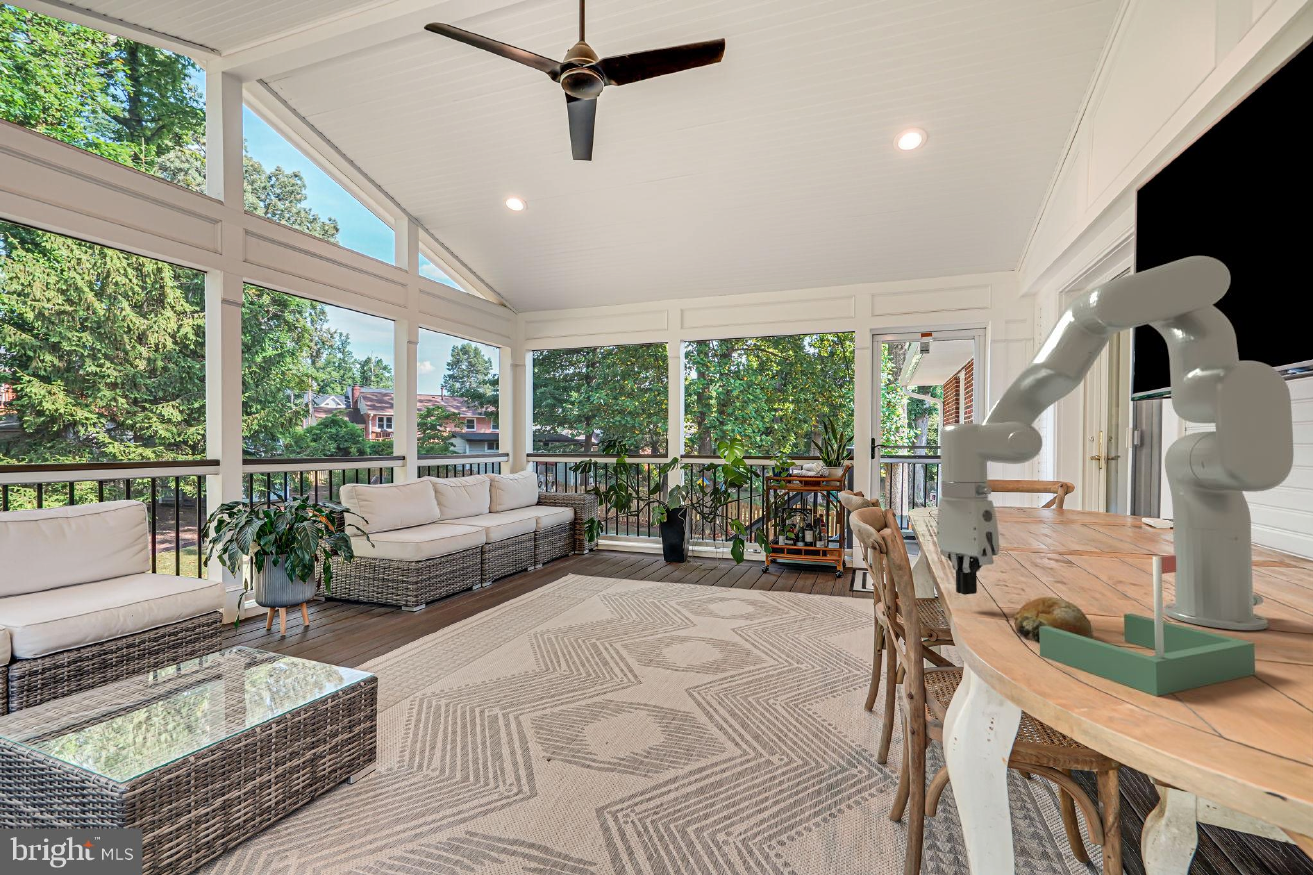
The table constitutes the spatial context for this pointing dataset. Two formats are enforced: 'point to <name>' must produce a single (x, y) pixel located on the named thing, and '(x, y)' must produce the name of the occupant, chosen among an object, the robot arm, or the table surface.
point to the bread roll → (1051, 618)
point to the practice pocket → (1179, 668)
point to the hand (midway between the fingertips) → (966, 592)
